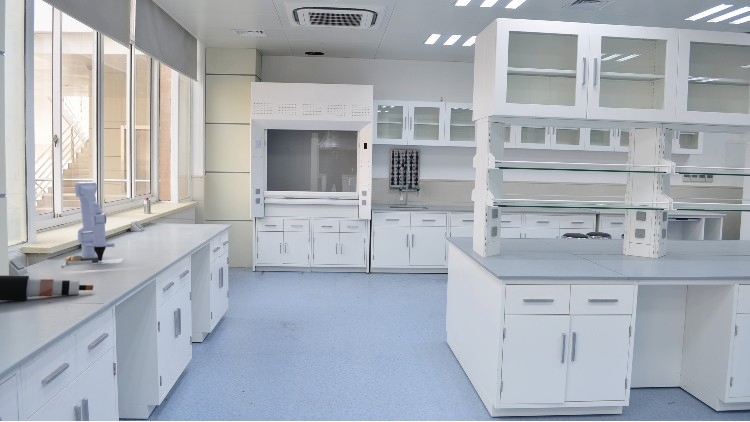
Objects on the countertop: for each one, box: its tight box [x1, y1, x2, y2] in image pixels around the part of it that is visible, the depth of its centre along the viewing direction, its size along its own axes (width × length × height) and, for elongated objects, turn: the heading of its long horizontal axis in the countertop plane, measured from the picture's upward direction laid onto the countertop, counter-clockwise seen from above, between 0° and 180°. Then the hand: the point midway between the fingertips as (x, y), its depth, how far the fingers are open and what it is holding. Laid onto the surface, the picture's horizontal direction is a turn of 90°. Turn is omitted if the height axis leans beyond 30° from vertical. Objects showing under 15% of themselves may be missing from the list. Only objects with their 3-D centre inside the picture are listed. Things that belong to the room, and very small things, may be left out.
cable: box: [0, 275, 94, 302], centre depth 217 cm, size 10×34×10 cm, turn 117°
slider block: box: [71, 254, 82, 262], centre depth 283 cm, size 3×4×4 cm
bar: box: [81, 256, 99, 263], centre depth 284 cm, size 2×8×2 cm, turn 108°
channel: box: [61, 255, 123, 268], centre depth 285 cm, size 11×28×4 cm, turn 108°
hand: (100, 260), depth 286 cm, fingers closed
